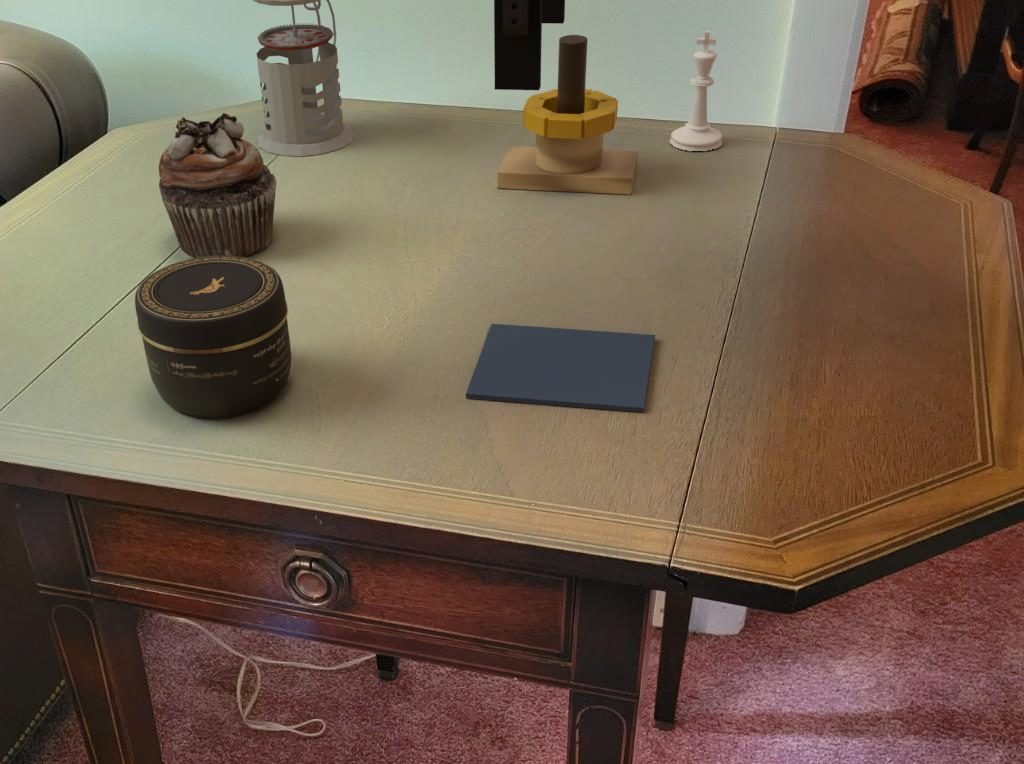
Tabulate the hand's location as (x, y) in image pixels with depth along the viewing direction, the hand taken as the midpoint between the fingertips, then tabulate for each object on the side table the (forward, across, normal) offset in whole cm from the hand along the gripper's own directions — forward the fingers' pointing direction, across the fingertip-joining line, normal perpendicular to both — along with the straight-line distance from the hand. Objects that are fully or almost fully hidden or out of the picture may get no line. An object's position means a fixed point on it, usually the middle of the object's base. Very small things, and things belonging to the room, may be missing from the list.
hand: (531, 53), depth 79 cm
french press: (+19, -36, -27) cm, 49 cm away
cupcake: (+19, -11, -27) cm, 35 cm away
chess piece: (+19, -37, +11) cm, 43 cm away
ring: (+13, -27, 0) cm, 30 cm away
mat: (+19, +7, +3) cm, 20 cm away
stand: (+19, -27, 0) cm, 33 cm away
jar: (+19, +12, -20) cm, 30 cm away
